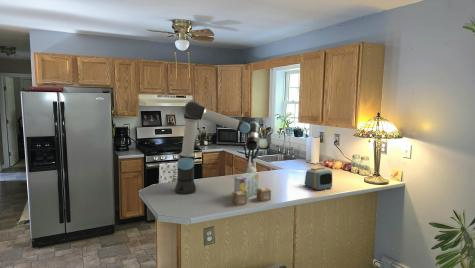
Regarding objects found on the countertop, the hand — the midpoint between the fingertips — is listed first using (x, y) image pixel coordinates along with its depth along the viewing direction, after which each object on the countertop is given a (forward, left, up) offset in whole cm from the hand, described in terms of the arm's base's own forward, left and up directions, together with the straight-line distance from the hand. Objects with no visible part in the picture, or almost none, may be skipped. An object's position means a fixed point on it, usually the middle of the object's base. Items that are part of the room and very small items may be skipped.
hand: (249, 166), depth 217 cm
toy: (-36, +20, -21) cm, 46 cm away
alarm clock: (+4, +61, -21) cm, 64 cm away
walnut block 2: (+13, +5, -21) cm, 25 cm away
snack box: (+3, -3, -21) cm, 21 cm away
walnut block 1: (+14, -14, -21) cm, 29 cm away
